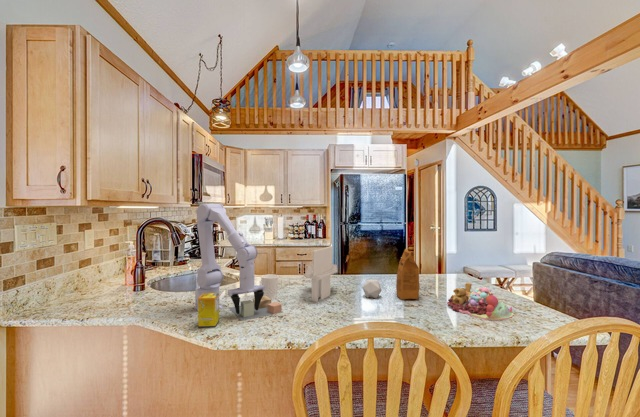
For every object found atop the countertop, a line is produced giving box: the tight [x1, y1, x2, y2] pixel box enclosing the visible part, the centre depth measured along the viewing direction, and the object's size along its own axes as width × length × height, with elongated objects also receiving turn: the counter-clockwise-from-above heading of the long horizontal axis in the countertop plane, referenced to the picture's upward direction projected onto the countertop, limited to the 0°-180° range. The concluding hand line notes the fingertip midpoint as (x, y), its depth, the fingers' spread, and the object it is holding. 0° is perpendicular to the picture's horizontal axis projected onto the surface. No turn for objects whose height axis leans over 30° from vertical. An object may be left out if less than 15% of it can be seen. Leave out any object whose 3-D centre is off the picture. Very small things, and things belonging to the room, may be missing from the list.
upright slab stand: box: [304, 243, 338, 303], centre depth 150 cm, size 28×21×23 cm
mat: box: [228, 305, 283, 322], centre depth 128 cm, size 17×17×1 cm
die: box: [361, 279, 382, 299], centre depth 147 cm, size 8×9×10 cm
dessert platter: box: [446, 282, 515, 321], centre depth 131 cm, size 25×24×9 cm
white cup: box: [260, 273, 279, 300], centre depth 146 cm, size 8×8×10 cm
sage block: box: [240, 299, 254, 317], centre depth 123 cm, size 4×4×5 cm
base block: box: [252, 296, 272, 309], centre depth 134 cm, size 6×6×3 cm
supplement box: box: [197, 292, 220, 329], centre depth 113 cm, size 6×6×11 cm
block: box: [267, 301, 282, 315], centre depth 126 cm, size 4×4×3 cm
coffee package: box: [395, 248, 421, 301], centre depth 147 cm, size 10×12×22 cm
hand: (247, 311), depth 123 cm, fingers open, 7 cm apart
